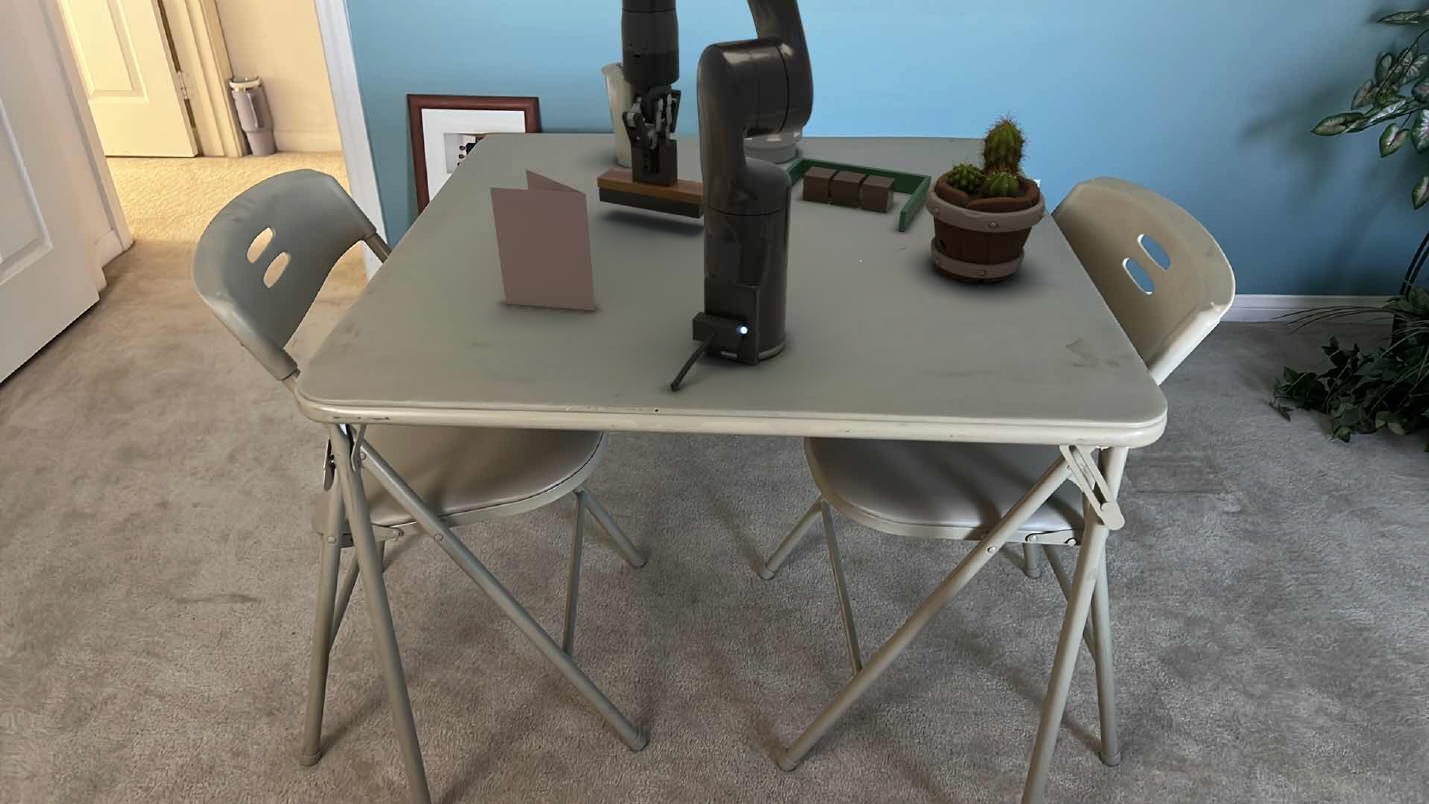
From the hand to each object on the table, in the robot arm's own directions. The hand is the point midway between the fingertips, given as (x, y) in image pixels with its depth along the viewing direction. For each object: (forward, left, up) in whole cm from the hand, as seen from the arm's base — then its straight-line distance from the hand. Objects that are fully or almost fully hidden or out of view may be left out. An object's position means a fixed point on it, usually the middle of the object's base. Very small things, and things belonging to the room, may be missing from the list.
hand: (654, 170), depth 133 cm
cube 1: (+19, -28, -8) cm, 35 cm away
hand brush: (0, 0, -5) cm, 5 cm away
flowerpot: (+3, -45, -8) cm, 46 cm away
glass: (+23, +15, -8) cm, 29 cm away
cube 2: (+19, -23, -8) cm, 31 cm away
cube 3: (+19, -18, -8) cm, 28 cm away
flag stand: (+35, -3, -8) cm, 36 cm away
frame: (+19, -23, -8) cm, 31 cm away
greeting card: (-28, +1, -8) cm, 29 cm away
